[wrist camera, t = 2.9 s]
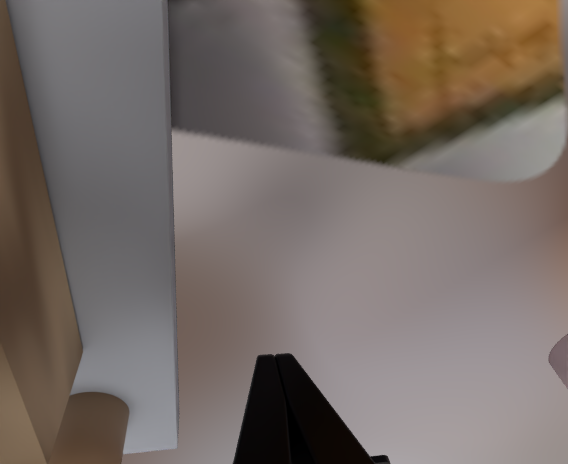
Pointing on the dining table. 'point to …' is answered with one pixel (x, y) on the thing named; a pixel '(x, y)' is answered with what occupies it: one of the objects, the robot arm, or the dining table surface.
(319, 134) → the dining table surface
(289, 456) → the robot arm
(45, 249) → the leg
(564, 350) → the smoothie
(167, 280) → the grey peg board
